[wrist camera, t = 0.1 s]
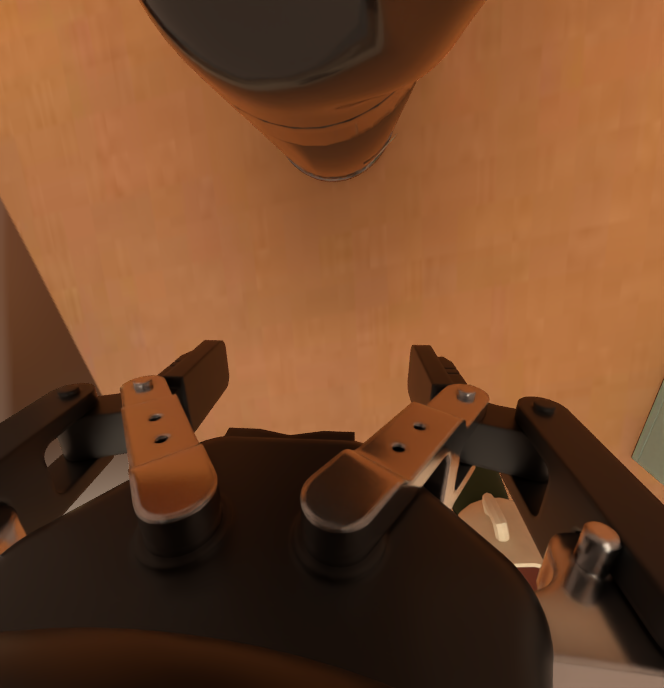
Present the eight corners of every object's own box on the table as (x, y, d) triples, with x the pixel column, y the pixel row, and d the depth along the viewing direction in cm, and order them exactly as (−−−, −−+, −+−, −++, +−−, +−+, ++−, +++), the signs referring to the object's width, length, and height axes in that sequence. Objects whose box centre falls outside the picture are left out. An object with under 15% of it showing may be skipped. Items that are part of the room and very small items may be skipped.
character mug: (423, 439, 36) (460, 554, 24) (490, 424, 35) (566, 536, 22) (443, 512, 39) (484, 643, 27) (504, 500, 38) (575, 632, 26)
